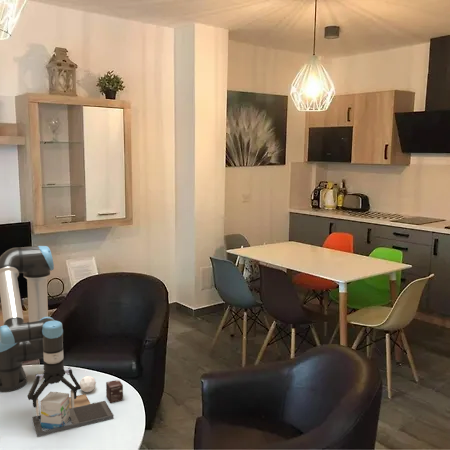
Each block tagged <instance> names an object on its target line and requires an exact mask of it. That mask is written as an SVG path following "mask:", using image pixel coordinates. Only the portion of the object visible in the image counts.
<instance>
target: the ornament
mask: <svg viewBox="0 0 450 450" xmlns="http://www.w3.org/2000/svg"><path fill="white" fill-rule="evenodd" d="M96 383H97V382H96V379H95V378H94V377H92V376H91V375H86V376H84V377H82V378H81V379H80V380H79V385H80V387H81V389H80V390H81V391H83V392H84V393H91V392H92V391H93V390H94V389H95V388H96V385H97V384H96Z"/></svg>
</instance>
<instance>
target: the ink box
mask: <svg viewBox="0 0 450 450" xmlns="http://www.w3.org/2000/svg"><path fill="white" fill-rule="evenodd" d="M69 397H70V393H67V392H61V391H60V392H59V391H50V392H48V393H47V394H46V395H45V396H44V397H43V398H42V399H41V400H40V415H41V419H40V423H41V427H42V429H46V430H49V429H53V428H57V427H62V426H66V424H67V423H68V422H70V411H69Z"/></svg>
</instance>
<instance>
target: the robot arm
mask: <svg viewBox="0 0 450 450" xmlns="http://www.w3.org/2000/svg"><path fill="white" fill-rule="evenodd" d="M54 269H55V263H54V257H53V255H52V251H51V249H50V247H49V246H47V245H36V246H35V245H33V246H24V247H23V246H22V247H21V246H20V247H12V248H9V249H7V250H5V252H3V253H2V254H1V255H0V304H1V311H2V320H3V325H1V326H0V392H1V393H7V392H8V393H9V392H14V391H16V390H17V391H18V390H19V389H21V388H23V387H24V386H25V385H26V384H27V383H28V378H27V377H28V376H27V374H26V372H25V370H24V366H23V362H28V361H35V360H39V359H43V373H41V374H39V373H36V374H35V378H34V381H33V383H32V385H31V387H30V390H29V391H28V394H27V396H26V397H27V399H28V401H32V408H34V409H35V414H36V416H39V415H40V406H39V396H40V395H41V394H42V393H43V391H44V390H45V389H46V388H47V387H48V386H49V385H53V384H59V383H60V382H61V383H63V384H64V385H65V386H66V387H68V388H69V390H70V397H71V406H72V408H74V399H76V398H77V397H76V396H77V393H78V391H79V390H81V387H80V385H79V384H80V382H78V380H77V379H76V377H75V376H74V374H73V370H72V368H71V367H68V368H67V369H65V367H64V364H65V363H64V362H65V361H64V343H63V342H64V329H63V323H62V322H61V321H59V320H55V319H54V318H53V317H50V316H49V306H48V301H49V300H48V278H49V277H50V276H51V271H54ZM20 274H23V278H25V279H26V282H27V286H26V287H27V305H28V306H27V308H28V310H27V311H28V312H27V313H28V322H25V321H24V314H23V307H22V301H21V293H20V288H19V281H18V278H19V276H20ZM66 374H67V376H69V377H70V378H71V380H72V381H73V383H74V385H75V386H74V385H73V384H72V383H71V382H69V380H67V379H66V378H65V377H64V376H65V375H66ZM42 379H44V380H43V381H42ZM40 381H42V383H41V384H40ZM39 384H40V386H39ZM38 386H39V387H38Z"/></svg>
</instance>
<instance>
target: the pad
mask: <svg viewBox="0 0 450 450" xmlns="http://www.w3.org/2000/svg"><path fill="white" fill-rule="evenodd" d="M76 397H77V398H76V399H74V408H75V407H79V406H83V405H88V404H92V403H91V402H90V400H89V397H88V396H87V395H86V393H84V394H78V395H76ZM70 408H72V406H71V396H69V409H70Z"/></svg>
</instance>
